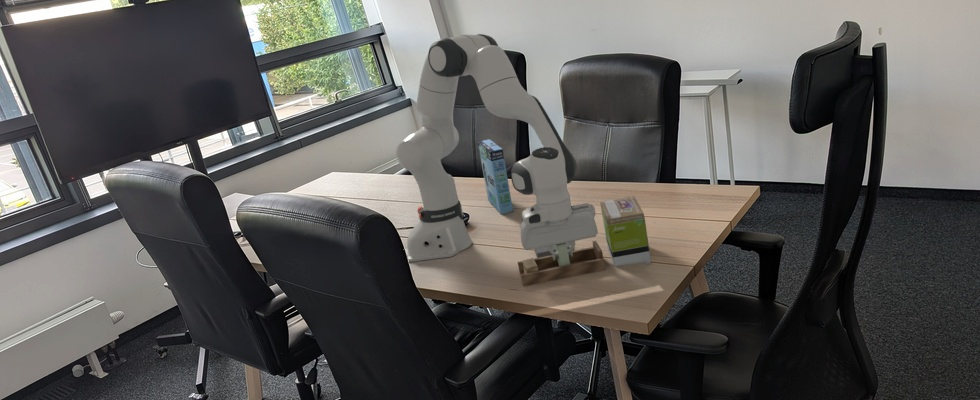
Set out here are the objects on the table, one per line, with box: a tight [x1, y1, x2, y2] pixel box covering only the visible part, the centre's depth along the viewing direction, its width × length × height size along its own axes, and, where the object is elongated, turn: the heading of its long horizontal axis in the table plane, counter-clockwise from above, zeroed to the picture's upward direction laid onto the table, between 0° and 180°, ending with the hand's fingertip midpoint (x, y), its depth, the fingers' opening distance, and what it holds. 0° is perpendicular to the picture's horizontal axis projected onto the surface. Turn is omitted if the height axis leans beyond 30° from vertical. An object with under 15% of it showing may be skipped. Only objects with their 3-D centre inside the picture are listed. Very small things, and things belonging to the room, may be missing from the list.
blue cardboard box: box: [477, 138, 514, 215], centre depth 265 cm, size 20×5×23 cm, turn 12°
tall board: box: [555, 243, 570, 267], centre depth 199 cm, size 2×7×8 cm, turn 3°
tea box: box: [600, 195, 652, 267], centre depth 202 cm, size 15×10×15 cm, turn 178°
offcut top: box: [521, 257, 538, 273], centre depth 199 cm, size 3×6×2 cm, turn 7°
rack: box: [517, 240, 606, 287], centre depth 200 cm, size 22×10×6 cm, turn 93°
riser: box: [533, 242, 570, 258], centre depth 214 cm, size 10×8×3 cm
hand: (562, 257), depth 199 cm, fingers closed on tall board, 2 cm apart
